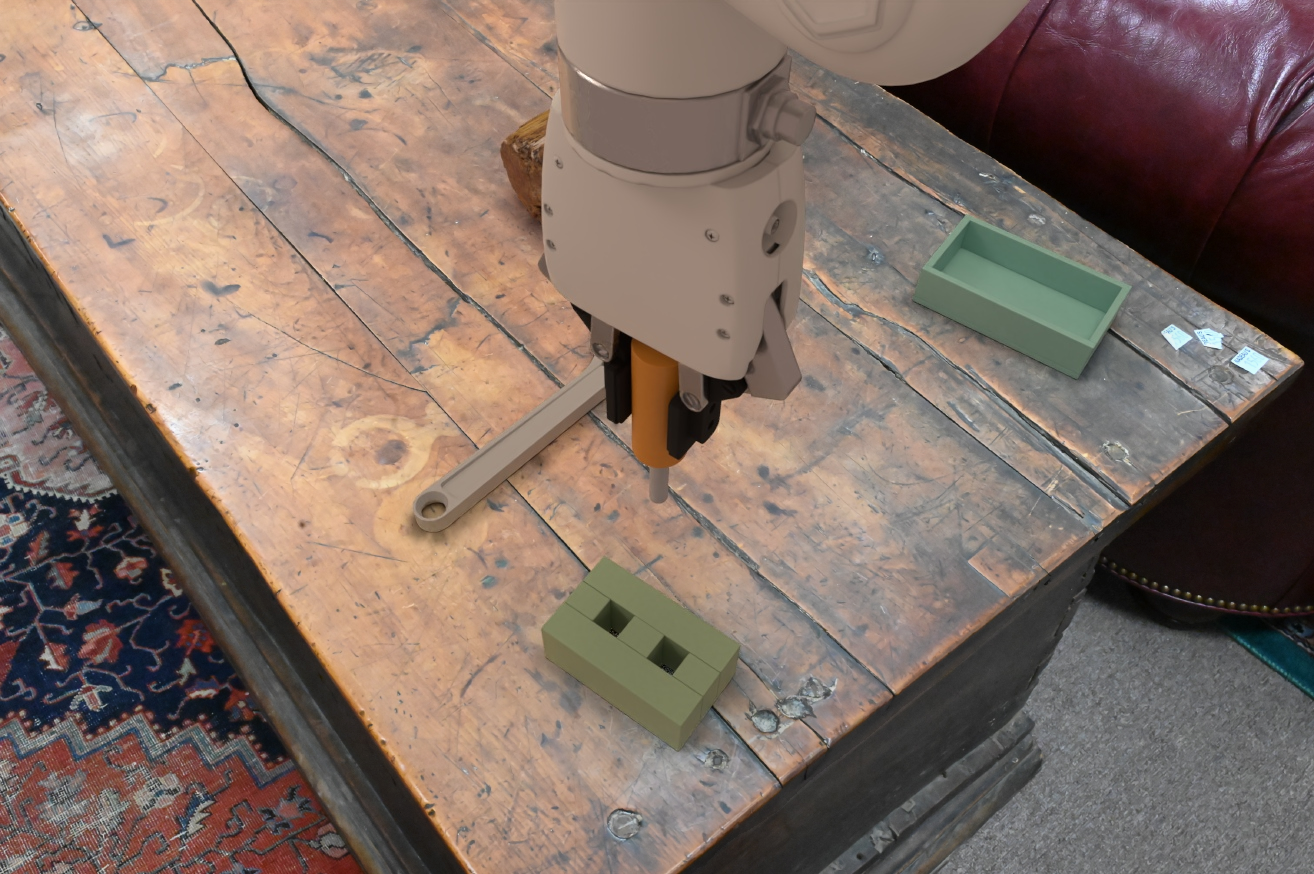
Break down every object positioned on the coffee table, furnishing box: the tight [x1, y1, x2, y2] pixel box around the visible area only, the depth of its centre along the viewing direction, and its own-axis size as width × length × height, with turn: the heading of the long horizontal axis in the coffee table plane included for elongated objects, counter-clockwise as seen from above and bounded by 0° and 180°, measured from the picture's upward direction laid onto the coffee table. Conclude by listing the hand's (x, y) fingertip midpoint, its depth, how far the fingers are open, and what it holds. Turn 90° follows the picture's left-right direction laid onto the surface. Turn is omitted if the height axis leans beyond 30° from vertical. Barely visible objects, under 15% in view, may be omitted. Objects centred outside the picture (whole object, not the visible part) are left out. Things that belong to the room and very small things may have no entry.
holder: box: [540, 555, 742, 752], centre depth 61 cm, size 6×10×4 cm, turn 54°
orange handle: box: [631, 338, 688, 505], centre depth 49 cm, size 3×3×12 cm
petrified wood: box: [499, 108, 550, 224], centre depth 87 cm, size 19×13×10 cm
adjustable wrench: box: [412, 347, 606, 533], centre depth 74 cm, size 25×6×2 cm, turn 132°
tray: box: [912, 213, 1133, 380], centre depth 81 cm, size 8×14×4 cm, turn 54°
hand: (661, 418), depth 49 cm, fingers closed on orange handle, 2 cm apart
